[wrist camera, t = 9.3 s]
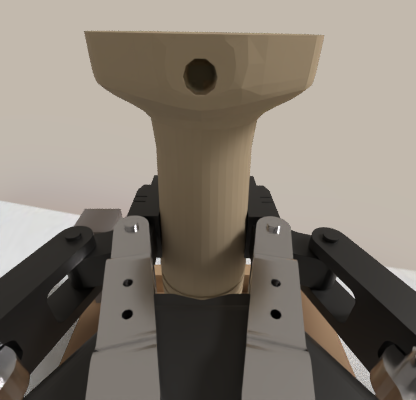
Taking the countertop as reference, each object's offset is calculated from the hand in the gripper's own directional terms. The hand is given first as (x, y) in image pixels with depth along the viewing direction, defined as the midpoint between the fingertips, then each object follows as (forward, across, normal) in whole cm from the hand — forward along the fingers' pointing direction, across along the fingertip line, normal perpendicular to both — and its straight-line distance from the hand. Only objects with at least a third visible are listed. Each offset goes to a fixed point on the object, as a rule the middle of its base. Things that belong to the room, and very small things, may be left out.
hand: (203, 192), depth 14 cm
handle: (-3, 0, +8) cm, 9 cm away
